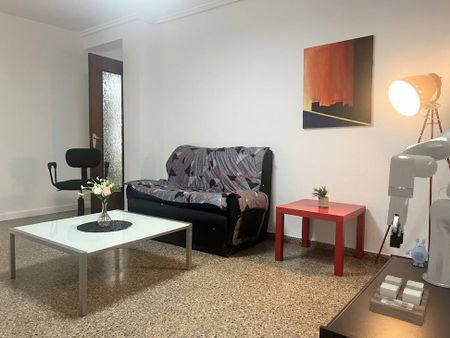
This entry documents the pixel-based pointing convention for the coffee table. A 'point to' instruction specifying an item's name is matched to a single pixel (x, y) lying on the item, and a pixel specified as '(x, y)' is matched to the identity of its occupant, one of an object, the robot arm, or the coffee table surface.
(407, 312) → the button board
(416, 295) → the button
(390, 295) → the button
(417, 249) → the toy figure
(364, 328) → the coffee table surface
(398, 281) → the button
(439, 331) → the coffee table surface
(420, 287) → the button
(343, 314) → the coffee table surface
